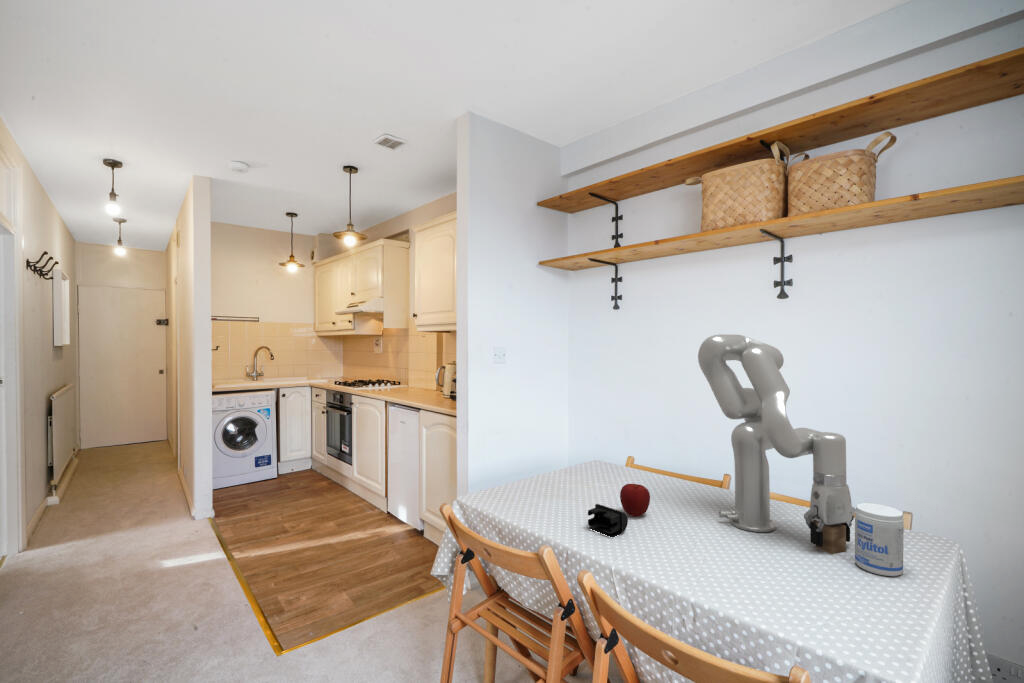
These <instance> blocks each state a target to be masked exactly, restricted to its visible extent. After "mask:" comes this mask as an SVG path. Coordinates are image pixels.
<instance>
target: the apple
mask: <svg viewBox="0 0 1024 683" xmlns="http://www.w3.org/2000/svg"><path fill="white" fill-rule="evenodd" d="M619 500H620V503H621V506H622V509H623V512H624V513H626V515H627V516H629V517H634V518H635V517H636V518H639V517H642V516H643V515H644V514H646V513H647V511H648V509H649V506H650V502H651V494H650V491H649V489H648V488H647V487H646V486H644V485H643V484H638V483H626V484H624V485H623V486H622V487H621V488H620V493H619Z"/></svg>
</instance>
